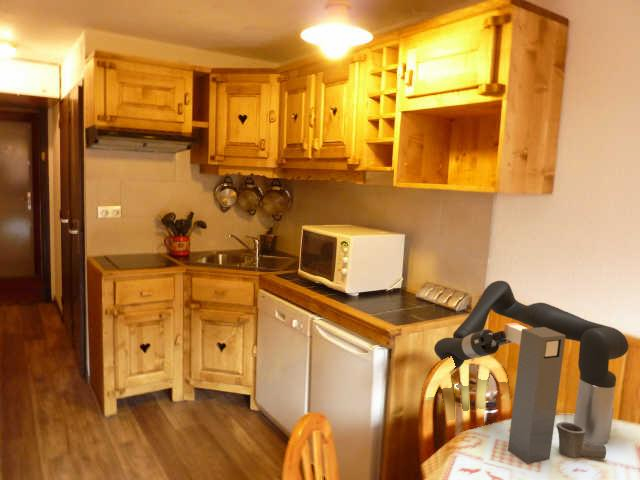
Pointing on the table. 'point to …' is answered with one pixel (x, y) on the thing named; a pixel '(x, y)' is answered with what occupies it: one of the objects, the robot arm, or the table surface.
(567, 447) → the pipe
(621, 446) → the table surface
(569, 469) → the table surface
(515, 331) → the block
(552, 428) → the grey tall rectangular block
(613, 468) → the table surface
